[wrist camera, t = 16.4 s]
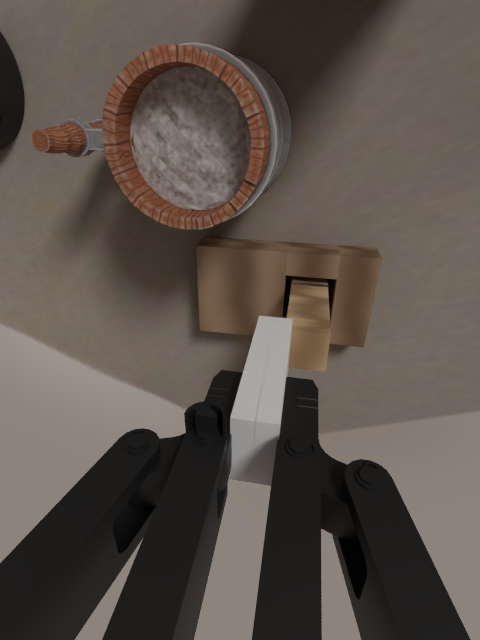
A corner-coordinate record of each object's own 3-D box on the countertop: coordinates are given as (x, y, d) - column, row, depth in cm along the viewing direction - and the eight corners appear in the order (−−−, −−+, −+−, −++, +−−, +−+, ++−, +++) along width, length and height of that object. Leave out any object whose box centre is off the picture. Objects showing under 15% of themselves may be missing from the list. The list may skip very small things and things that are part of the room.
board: (206, 317, 51) (199, 330, 48) (204, 236, 45) (195, 245, 42) (360, 332, 48) (363, 347, 45) (377, 248, 42) (381, 258, 39)
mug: (286, 207, 42) (272, 249, 29) (123, 198, 45) (45, 233, 32) (297, 54, 35) (286, 21, 22) (105, 54, 38) (-3, 25, 25)
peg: (290, 302, 47) (281, 366, 35) (292, 271, 46) (284, 329, 33) (323, 305, 47) (325, 372, 35) (327, 274, 45) (331, 333, 33)
